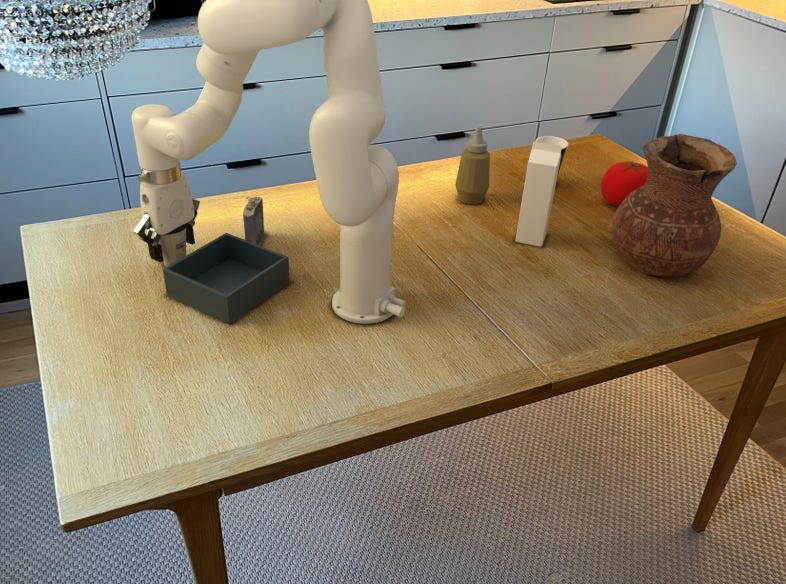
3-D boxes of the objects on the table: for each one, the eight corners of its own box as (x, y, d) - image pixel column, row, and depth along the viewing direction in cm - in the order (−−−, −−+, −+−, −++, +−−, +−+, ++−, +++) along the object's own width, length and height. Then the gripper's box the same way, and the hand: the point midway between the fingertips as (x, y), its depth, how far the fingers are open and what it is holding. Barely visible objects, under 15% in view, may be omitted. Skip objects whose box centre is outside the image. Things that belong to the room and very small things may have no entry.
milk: (541, 247, 167) (560, 152, 153) (514, 242, 168) (530, 147, 154) (546, 234, 171) (564, 140, 157) (519, 229, 173) (535, 136, 159)
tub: (289, 283, 153) (288, 256, 149) (229, 324, 141) (226, 297, 137) (228, 258, 160) (226, 232, 156) (166, 295, 148) (162, 269, 144)
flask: (255, 254, 161) (252, 208, 155) (242, 252, 162) (238, 207, 155) (266, 233, 169) (263, 188, 162) (253, 232, 169) (250, 187, 162)
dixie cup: (527, 176, 195) (534, 134, 188) (558, 178, 195) (566, 136, 188) (529, 189, 189) (536, 147, 182) (561, 191, 189) (570, 149, 182)
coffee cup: (152, 268, 156) (144, 224, 150) (166, 251, 161) (160, 209, 155) (183, 273, 155) (176, 229, 149) (197, 256, 160) (191, 213, 154)
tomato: (595, 210, 181) (605, 169, 174) (598, 190, 190) (608, 150, 183) (647, 218, 178) (659, 177, 172) (648, 197, 187) (659, 157, 181)
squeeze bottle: (448, 194, 186) (455, 122, 175) (479, 190, 188) (487, 119, 177) (461, 208, 180) (469, 135, 169) (492, 204, 182) (502, 132, 171)
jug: (723, 290, 155) (765, 175, 139) (620, 288, 154) (652, 173, 139) (686, 236, 172) (720, 129, 157) (594, 234, 172) (619, 127, 156)
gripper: (140, 193, 138) (154, 275, 149) (207, 161, 150) (215, 239, 161) (112, 182, 142) (128, 263, 152) (179, 152, 153) (190, 229, 164)
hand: (173, 250), depth 156 cm, fingers open, 8 cm apart
